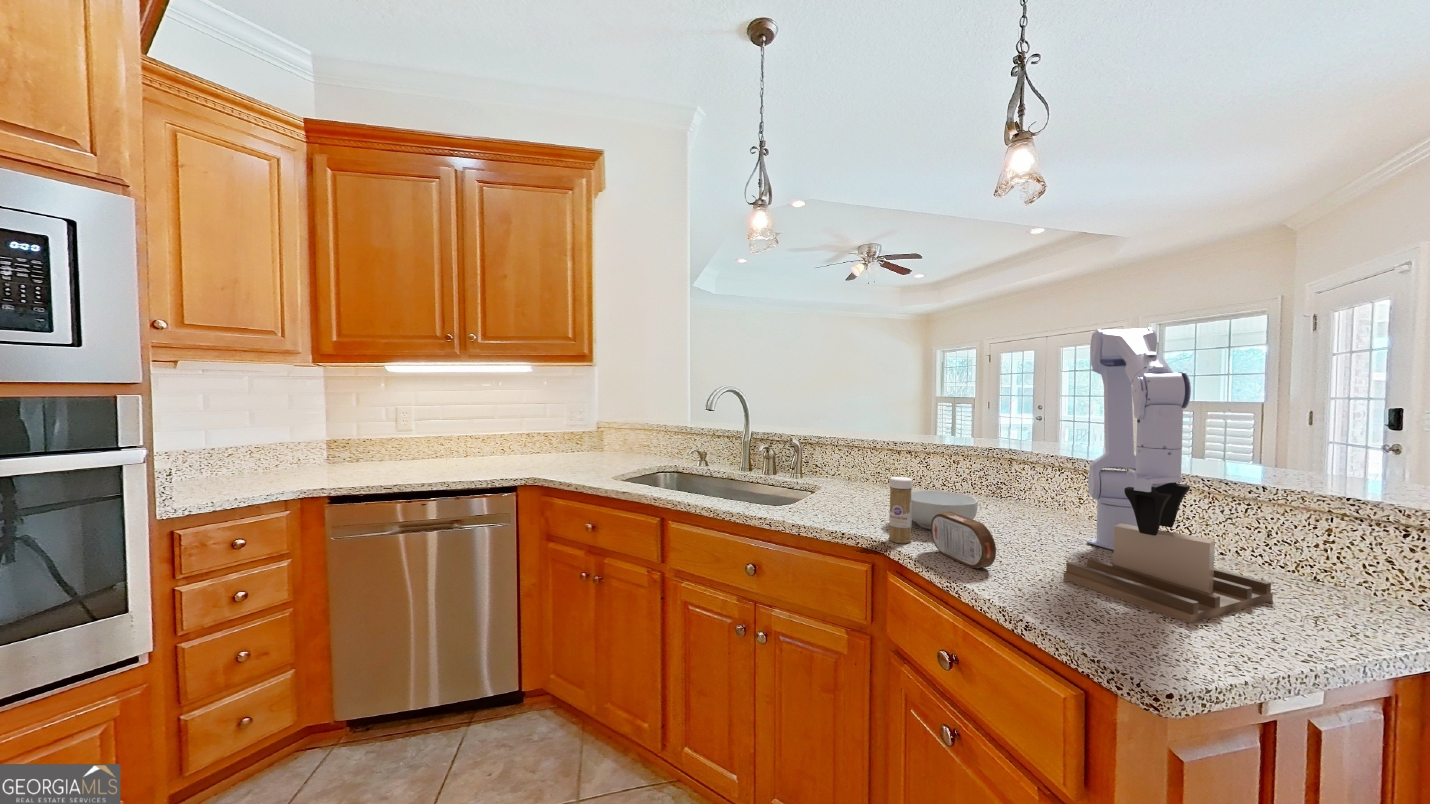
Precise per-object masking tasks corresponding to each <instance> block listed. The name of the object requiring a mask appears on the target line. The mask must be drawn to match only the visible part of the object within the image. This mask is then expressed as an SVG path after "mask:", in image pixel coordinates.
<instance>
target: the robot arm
mask: <svg viewBox="0 0 1430 804" xmlns="http://www.w3.org/2000/svg"><path fill="white" fill-rule="evenodd" d="M1091 334H1092V335H1091V340H1090V366H1091V370H1092V372H1094V373H1096V374H1099V375H1100V377H1101V379H1102V383H1103V402H1104V405H1103V407H1104V441H1105V443H1104V445H1105V449H1104V450H1105V453H1104V454H1102V455H1100V456H1099V457H1097V458H1095V459H1094V460H1092V461H1091V463H1090V464H1089V470H1088V471H1089V473H1088V480H1087V484H1088V485H1087V487H1088V488H1087V489H1088V492H1089V493H1088V494H1089V496H1090V497H1091V498H1092V499H1093V500H1096V504H1097V506H1096V512H1097V513H1096V538H1093V539H1092V538H1091V539H1086V541H1085V543H1087V544H1090V545H1093V546H1097V547H1101V548H1104V549H1108V550H1111V551H1114V526H1116V525H1118V524H1120V523H1122V524H1128V525H1133V526H1138V529H1139V532H1140V533H1143V534H1148V535H1153V536H1156V535H1157V533H1158V530H1160V527H1165V528H1171V529H1172V528H1173V527H1174V525H1175V522H1176V518H1177V515H1178V512H1179V509H1180V506H1181V503H1182V502H1183V499H1184V498H1185V496H1186V494H1187V493H1188V492H1189V491H1190V488H1191V486H1190V485H1189V484H1185V483H1181V482H1183V480H1184V478H1183V475H1182V461H1183V457H1182V455H1183V453H1182V452H1183V449H1182V448H1183V429H1184V428H1183V425H1184V409H1186V408H1187V407H1189V404H1190V400H1191V394H1192V387H1191V380H1190V377H1189V375H1188V374H1187V372H1186V371H1179V372H1178V371H1177V372H1174V371H1173V370H1172V368H1171V367H1170V366H1169V364H1168V363H1167V361H1166V360H1165V359H1164V357H1163V356H1161V355H1160V354H1158V353H1156V352H1157V346H1158V337H1157V333H1156V331H1155V330H1154V329H1153V328H1152V327H1149V326H1148V327H1146V328H1145V327H1144V328H1124V329H1121V328H1120V329H1099V328H1098V329H1095V330H1094V331H1093V333H1091ZM1134 418H1135V419H1136V442H1134ZM1134 443H1136V445H1134ZM1135 446H1136V447H1135ZM1115 469H1116V470H1115ZM1117 469H1118V470H1117Z"/></svg>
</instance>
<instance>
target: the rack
mask: <svg viewBox="0 0 1430 804" xmlns="http://www.w3.org/2000/svg"><path fill="white" fill-rule="evenodd" d="M1065 568H1066V570H1065V571H1063V580H1065V581H1067V582H1070V583H1073V584H1076V585H1078V586H1082V587H1085V588H1087V589H1090V590H1093V591H1096V592H1098V593H1101V594H1104V595H1107V596H1109V597H1113V598H1115V599H1118V600H1122V601H1125V602H1127V603H1130V604H1133V605H1136V606H1138V607H1141V608H1144V609H1146V610H1150V611H1153V612H1155V613H1158V614H1161V615H1164V616H1167V617H1169V618H1173V619H1176V620H1178V621H1180V622H1184V623H1187V624H1190V625H1191V624H1196V623H1199V622H1202V621H1205V620H1208V619H1212V618H1216V617H1219V616H1223V615H1226V614H1230V613H1233V612H1236V611H1240V610H1243V609H1248V608H1250V607H1254V606H1256V605H1260V604H1264V603H1268V602H1271V601H1273V599H1274V597H1273V595H1274V593H1273V592H1272V591H1271V590H1272V582H1269V581H1266V580H1263V579H1262V580H1261V579H1258V578H1254V577H1251V576H1246V575H1243V574H1238V573H1234V572H1231V571H1227V570H1223V569H1220V568H1217V567H1214V579H1213V591H1212V592H1211V593H1208V592H1204V591H1201V590H1197V589H1194V588H1191V587H1187V586H1184V585H1181V584H1177V583H1174V582H1171V581H1167V580H1164V579H1161V578H1157V577H1154V576H1151V575H1147V574H1144V573H1141V572H1137V571H1134V570H1130V569H1127V568H1124V567H1120V566H1117V565H1114V561H1113V562H1107V561H1103V560H1100V559H1097V558H1093V557H1089V558H1086V566H1085V565H1083V564H1080V563H1076V562H1074V561H1067V562H1066V565H1065Z"/></svg>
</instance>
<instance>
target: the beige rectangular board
mask: <svg viewBox="0 0 1430 804" xmlns="http://www.w3.org/2000/svg"><path fill="white" fill-rule="evenodd" d="M1215 541H1216V540H1215V539H1213V538H1209V537H1208V538H1207V537H1200V536H1197V535H1190V534H1184V533H1178V532H1172V531H1169V530H1167V531H1166V530H1163V529H1159V530H1158V533H1157V535H1156V536H1153V535H1148V534H1143V533H1140V532H1139V529H1138V526H1133V525H1128V524H1122V523H1120V524H1118V525H1116V526H1114V550H1113V562H1114V565H1117V566H1120V567H1124V568H1127V569H1130V570H1134V571H1137V572H1141V573H1144V574H1147V575H1151V576H1154V577H1157V578H1161V579H1164V580H1167V581H1171V582H1174V583H1177V584H1181V585H1184V586H1187V587H1191V588H1194V589H1197V590H1201V591H1204V592H1208V593H1211V592H1212V591H1213V579H1214V568H1215V543H1216V542H1215Z"/></svg>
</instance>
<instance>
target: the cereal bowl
mask: <svg viewBox="0 0 1430 804" xmlns="http://www.w3.org/2000/svg"><path fill="white" fill-rule="evenodd" d="M978 503H979V501H978V499H977V498H976V497H974V496H971V495H968V494H964V493H959V492H952V491H945V490H933V489H932V490H928V489H927V490H924V489H921V490H919V489H918V490H917V489H916V490H911V521H913V522H916V523H917V524H918V525H919V526H920V527H922V528H924V529H928V530H931V521H932V519H933V517H934V516H935V515H937V514H940V513H945V512H954V513H957V514H959V515H962V516H964V517H967V518H970V519H973V520H975V518H976V516H977V512H978V506H979V505H978Z"/></svg>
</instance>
